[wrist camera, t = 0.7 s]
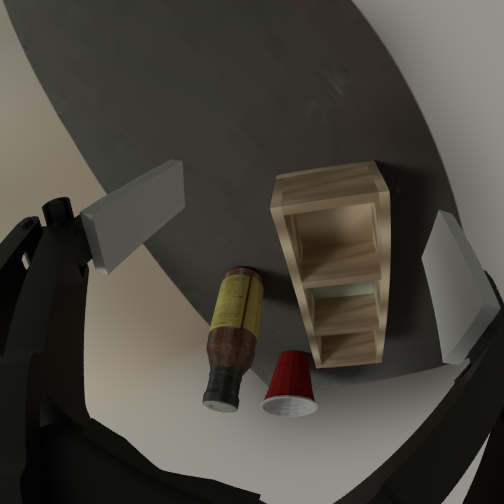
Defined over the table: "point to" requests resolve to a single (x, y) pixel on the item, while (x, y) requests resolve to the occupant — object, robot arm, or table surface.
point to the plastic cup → (290, 387)
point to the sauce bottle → (233, 337)
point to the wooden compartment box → (338, 257)
